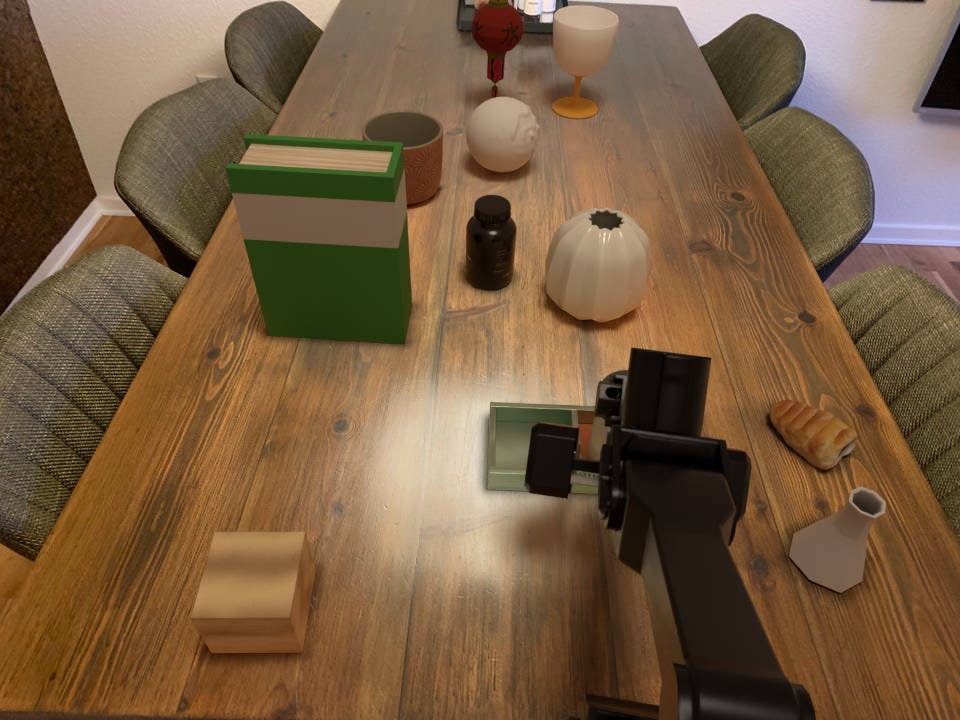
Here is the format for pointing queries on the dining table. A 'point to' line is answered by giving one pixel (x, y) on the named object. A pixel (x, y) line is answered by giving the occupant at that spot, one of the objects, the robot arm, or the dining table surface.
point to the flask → (838, 542)
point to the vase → (598, 264)
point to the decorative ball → (502, 134)
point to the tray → (513, 440)
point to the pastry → (813, 432)
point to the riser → (255, 593)
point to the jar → (599, 430)
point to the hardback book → (326, 236)
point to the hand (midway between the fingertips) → (624, 459)
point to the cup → (582, 51)
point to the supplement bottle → (490, 243)
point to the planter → (412, 148)
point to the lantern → (497, 35)
